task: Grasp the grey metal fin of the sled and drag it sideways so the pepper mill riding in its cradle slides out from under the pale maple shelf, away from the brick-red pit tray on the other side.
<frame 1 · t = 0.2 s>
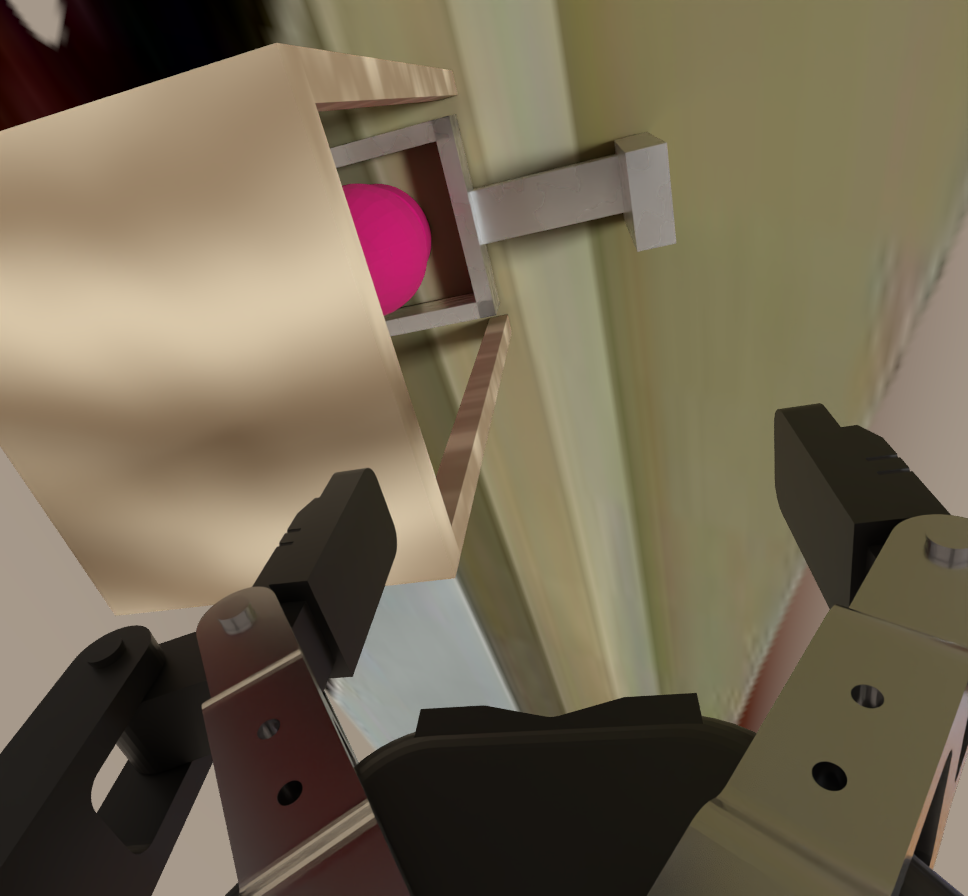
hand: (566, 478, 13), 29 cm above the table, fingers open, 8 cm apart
pepper mill: (383, 236, 40), resting in sled
shelf tunnel: (382, 237, 40), on the table
sled: (453, 231, 35), point 4 cm above the table, slide at 0.0 cm
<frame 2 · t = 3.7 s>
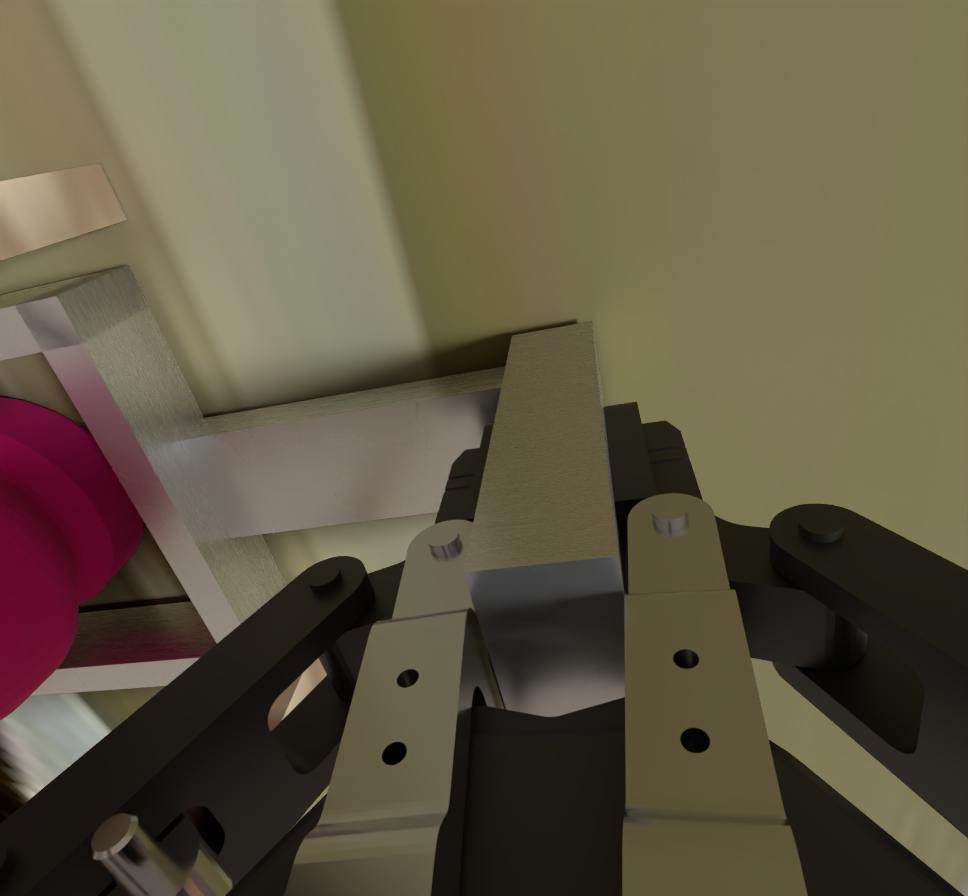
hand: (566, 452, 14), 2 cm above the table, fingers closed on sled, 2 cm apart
pepper mill: (47, 486, 19), resting in sled
shelf tunnel: (42, 490, 19), on the table
sled: (106, 568, 14), point 4 cm above the table, slide at 0.0 cm, touching gripper
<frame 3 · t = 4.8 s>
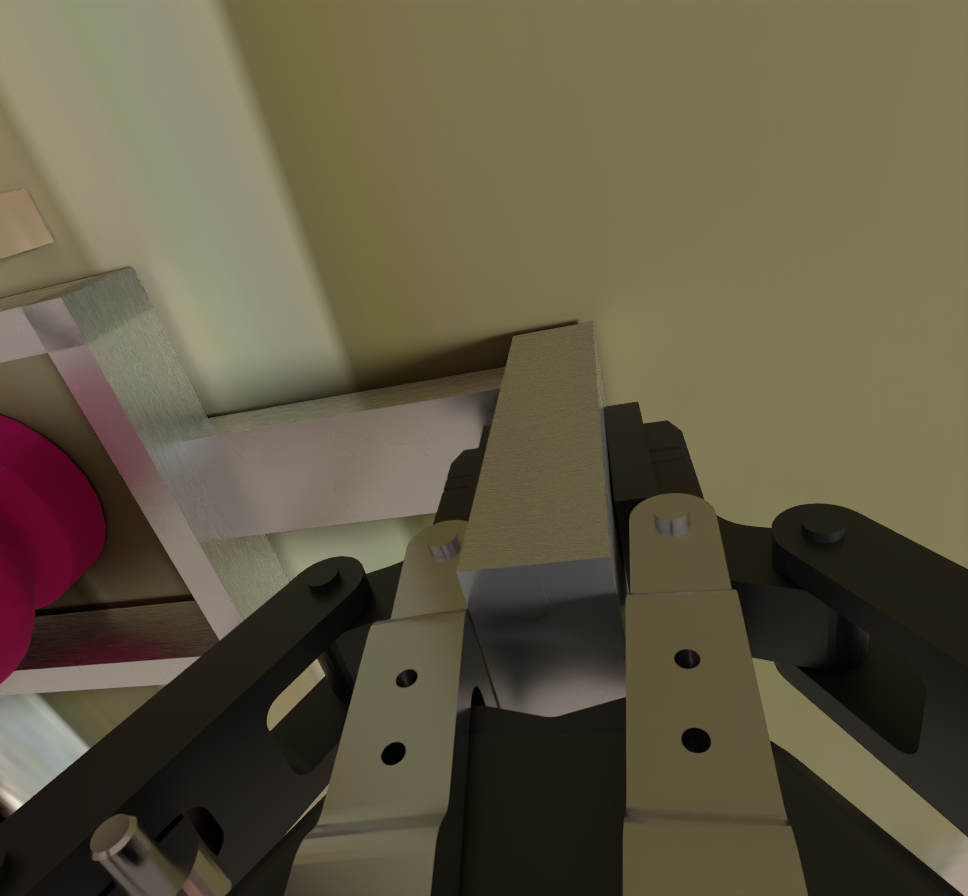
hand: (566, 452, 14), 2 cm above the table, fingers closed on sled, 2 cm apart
pepper mill: (13, 492, 19), resting in sled
sled: (110, 567, 14), point 4 cm above the table, slide at 2.2 cm, touching gripper, pepper mill
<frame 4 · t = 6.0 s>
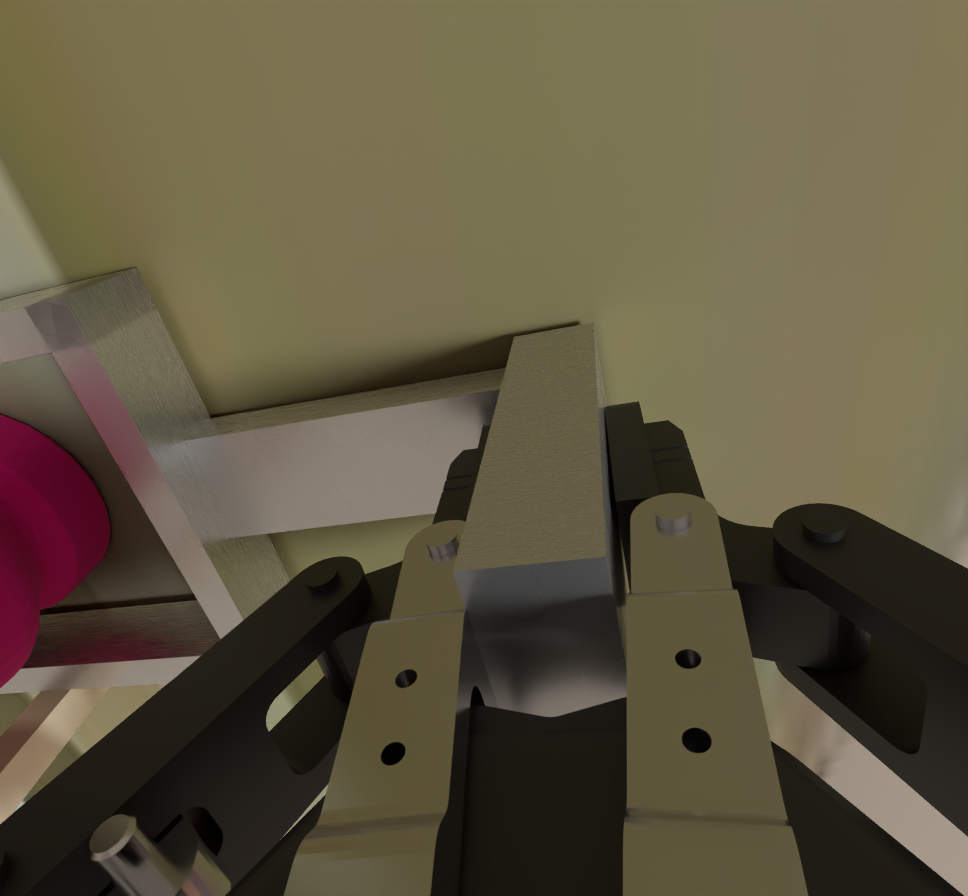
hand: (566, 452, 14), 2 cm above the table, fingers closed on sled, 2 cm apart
pepper mill: (19, 493, 20), resting in sled
sled: (112, 566, 14), point 4 cm above the table, slide at 8.6 cm, touching gripper, pepper mill
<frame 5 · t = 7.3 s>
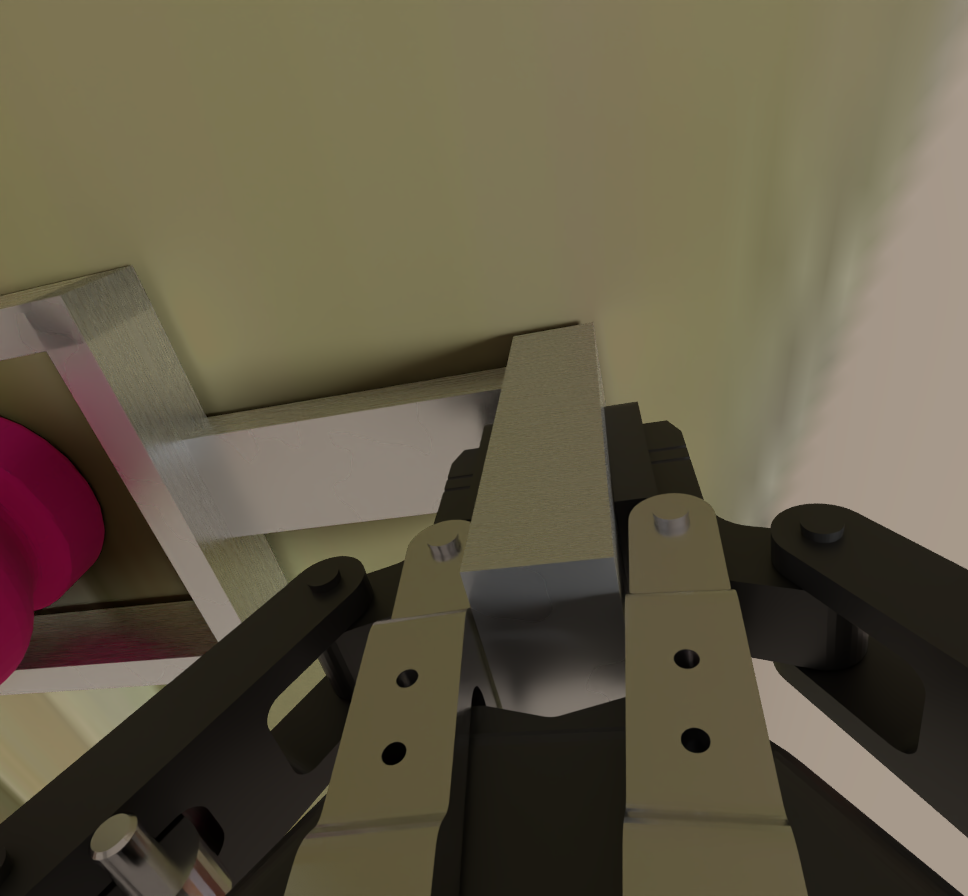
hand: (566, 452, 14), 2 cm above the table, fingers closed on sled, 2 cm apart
pepper mill: (12, 493, 19), resting in sled
sled: (108, 567, 14), point 4 cm above the table, slide at 13.5 cm, touching gripper, pepper mill
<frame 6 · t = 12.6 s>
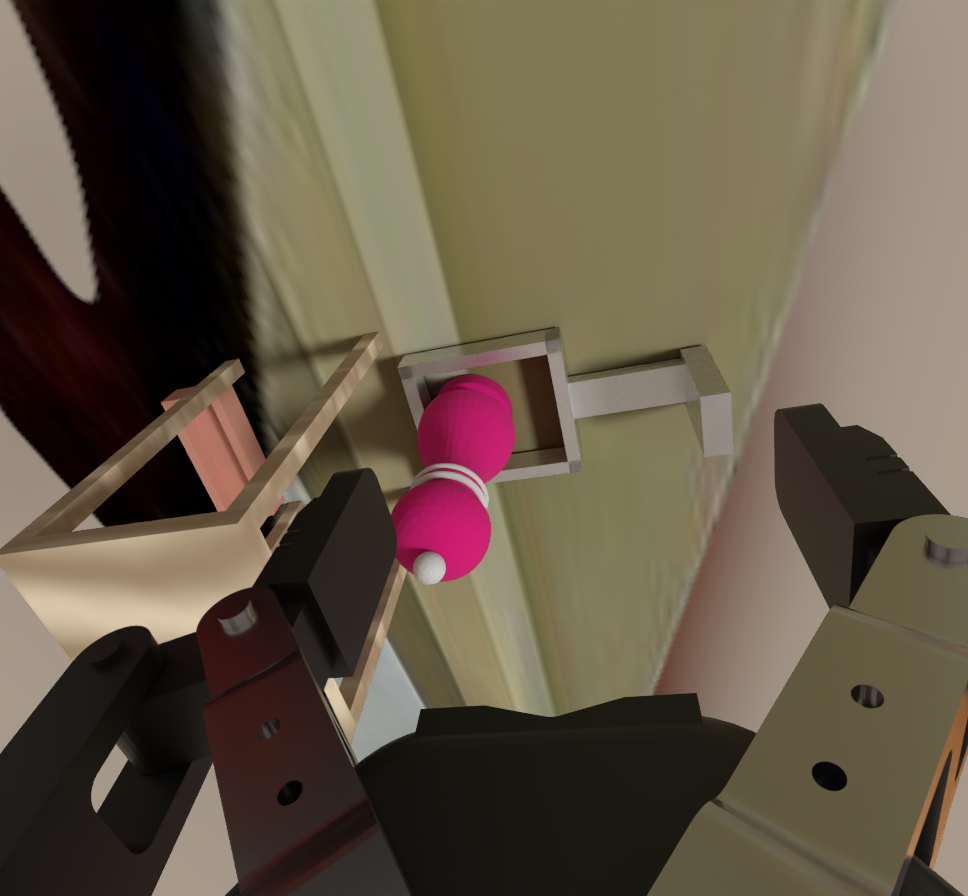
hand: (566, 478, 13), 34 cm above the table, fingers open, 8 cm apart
pepper mill: (473, 408, 51), resting in sled
pit tray: (232, 446, 55), on the table
shelf tunnel: (332, 430, 53), on the table
sled: (558, 420, 46), point 4 cm above the table, slide at 13.8 cm
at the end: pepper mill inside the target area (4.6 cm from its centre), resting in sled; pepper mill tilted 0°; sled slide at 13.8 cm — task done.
